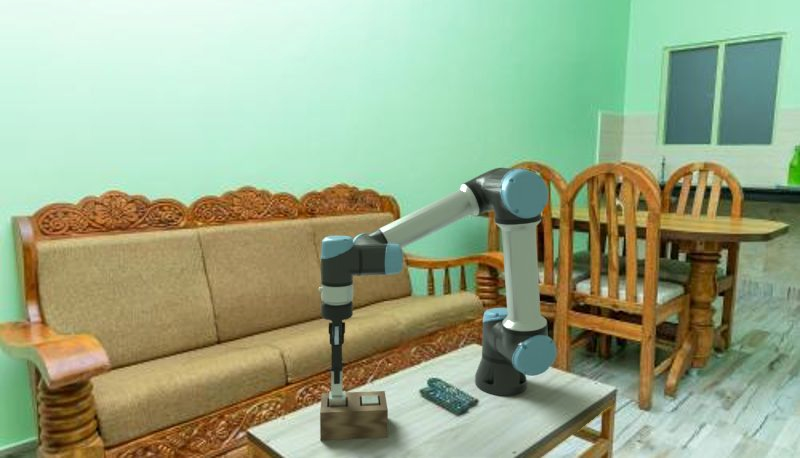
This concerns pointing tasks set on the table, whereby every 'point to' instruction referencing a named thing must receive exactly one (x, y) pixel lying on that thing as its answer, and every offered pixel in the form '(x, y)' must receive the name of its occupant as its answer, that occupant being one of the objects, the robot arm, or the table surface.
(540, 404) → the table surface
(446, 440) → the table surface
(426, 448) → the table surface
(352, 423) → the wooden peg hole block
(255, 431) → the table surface
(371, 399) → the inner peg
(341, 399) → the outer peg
